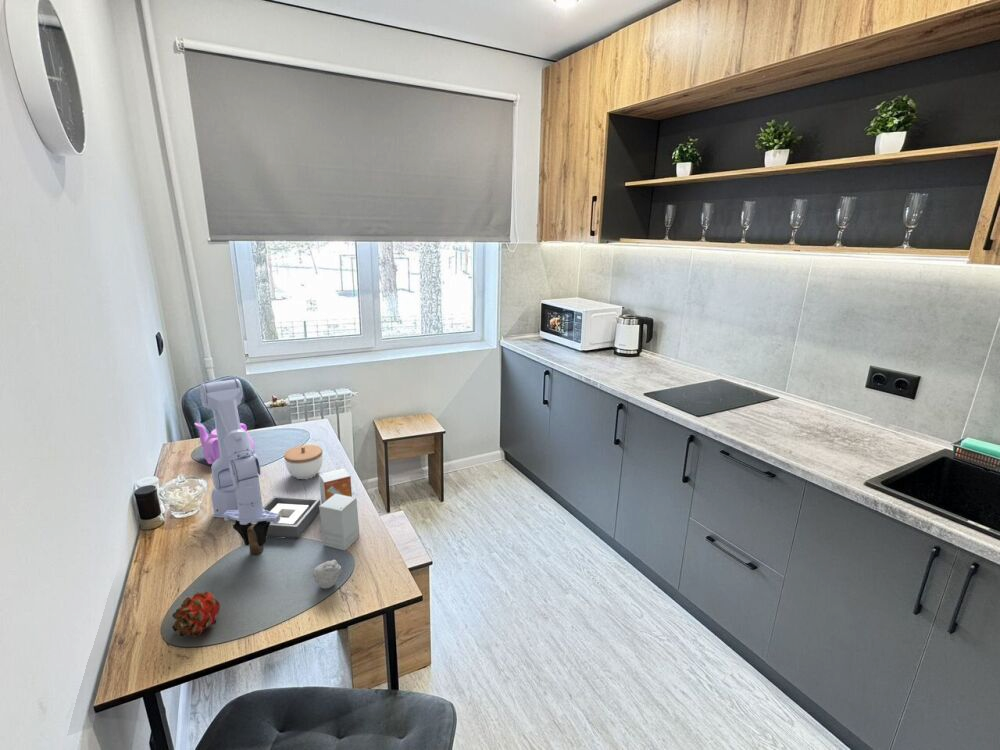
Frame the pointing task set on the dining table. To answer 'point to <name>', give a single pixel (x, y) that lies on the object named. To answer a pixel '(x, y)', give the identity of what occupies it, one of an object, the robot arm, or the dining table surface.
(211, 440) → the teapot
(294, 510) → the square hole block
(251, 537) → the peg
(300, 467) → the lidded bowl
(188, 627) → the dragon fruit
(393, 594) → the dining table surface
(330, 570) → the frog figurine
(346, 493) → the small box
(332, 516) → the supplement box
